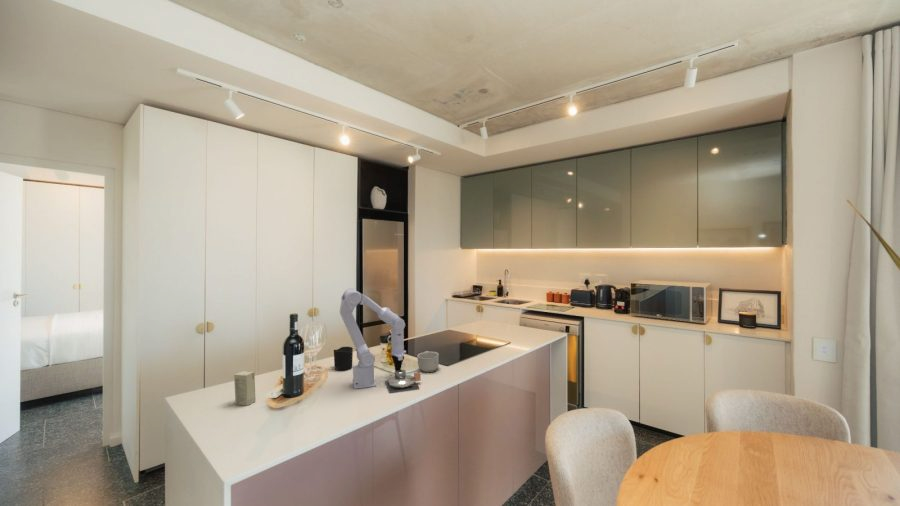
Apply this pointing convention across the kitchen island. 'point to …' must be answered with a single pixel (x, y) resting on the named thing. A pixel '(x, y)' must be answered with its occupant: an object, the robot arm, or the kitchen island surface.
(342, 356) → the pen holder
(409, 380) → the turntable
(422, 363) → the teacup
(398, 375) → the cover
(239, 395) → the skincare box
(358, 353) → the robot arm
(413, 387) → the turntable base
